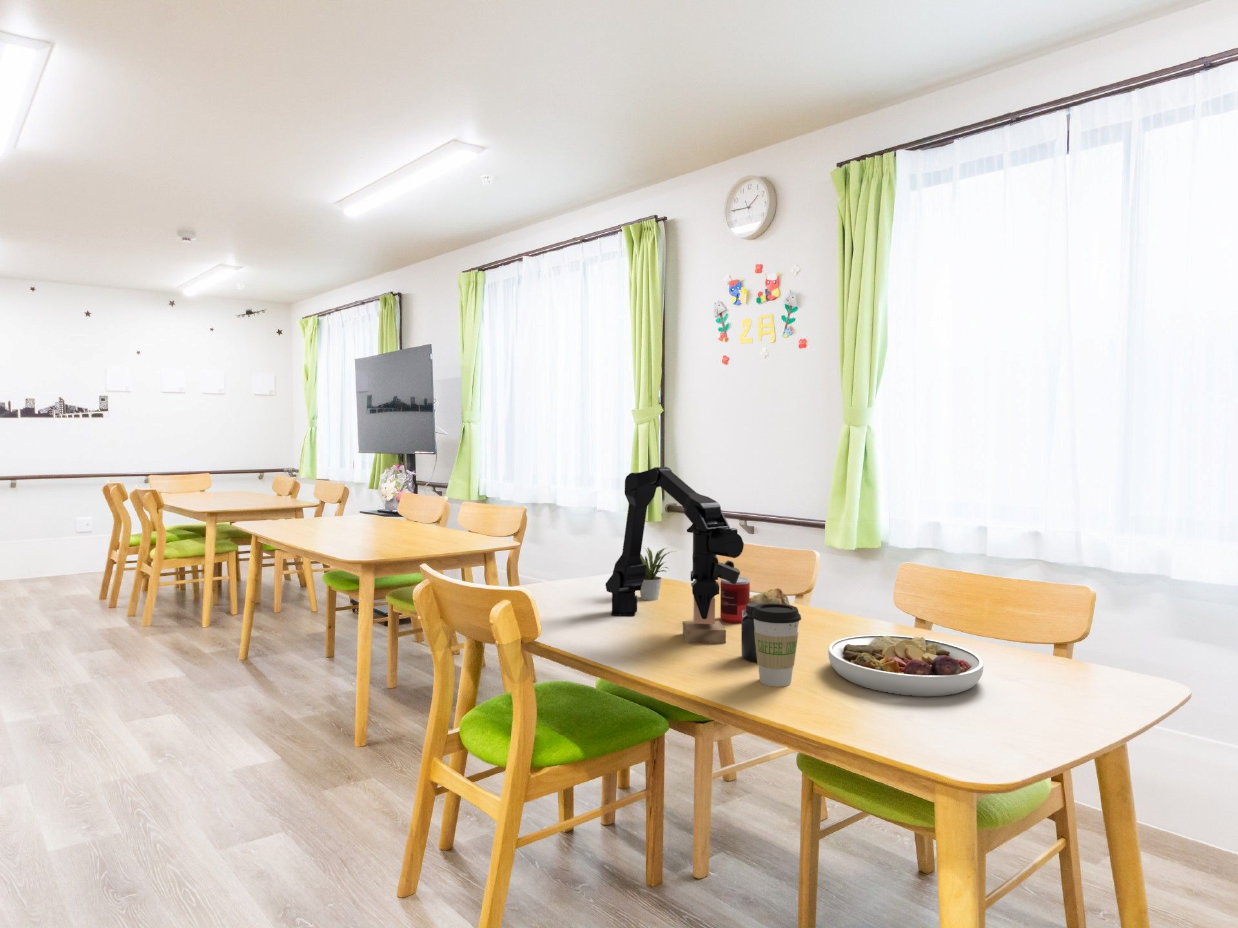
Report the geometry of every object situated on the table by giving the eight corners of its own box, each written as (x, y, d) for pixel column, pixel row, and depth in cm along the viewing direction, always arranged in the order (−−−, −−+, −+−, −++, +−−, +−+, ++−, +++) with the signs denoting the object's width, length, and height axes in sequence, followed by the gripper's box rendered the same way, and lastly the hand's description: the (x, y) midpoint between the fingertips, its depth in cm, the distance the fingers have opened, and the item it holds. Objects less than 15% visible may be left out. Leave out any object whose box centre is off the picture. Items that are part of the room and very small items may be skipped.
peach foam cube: (693, 623, 189) (694, 598, 188) (693, 618, 194) (693, 594, 193) (714, 623, 188) (715, 599, 188) (713, 618, 193) (713, 594, 193)
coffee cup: (771, 692, 152) (772, 615, 151) (740, 678, 160) (741, 605, 160) (810, 684, 156) (811, 610, 156) (779, 671, 165) (779, 600, 164)
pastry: (802, 621, 209) (803, 591, 208) (760, 624, 205) (760, 594, 205) (777, 609, 222) (778, 581, 222) (737, 612, 219) (737, 584, 218)
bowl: (799, 664, 171) (800, 628, 171) (909, 650, 182) (909, 617, 182) (895, 710, 143) (896, 668, 143) (1017, 691, 154) (1018, 651, 154)
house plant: (681, 594, 241) (681, 541, 240) (674, 604, 227) (674, 548, 227) (635, 592, 244) (635, 540, 243) (625, 601, 231) (626, 546, 230)
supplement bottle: (775, 656, 176) (776, 603, 176) (768, 664, 170) (768, 609, 169) (745, 652, 179) (746, 600, 178) (737, 660, 173) (737, 606, 172)
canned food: (748, 616, 213) (748, 576, 213) (750, 624, 205) (750, 582, 205) (719, 616, 214) (720, 575, 213) (720, 623, 206) (721, 581, 205)
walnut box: (688, 645, 186) (688, 630, 186) (682, 635, 195) (682, 621, 195) (725, 644, 187) (725, 629, 187) (718, 634, 196) (718, 620, 196)
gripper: (741, 559, 180) (740, 626, 181) (734, 547, 199) (734, 608, 200) (692, 558, 181) (692, 625, 182) (690, 546, 200) (690, 607, 200)
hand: (703, 616), depth 191 cm, fingers closed on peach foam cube, 5 cm apart
